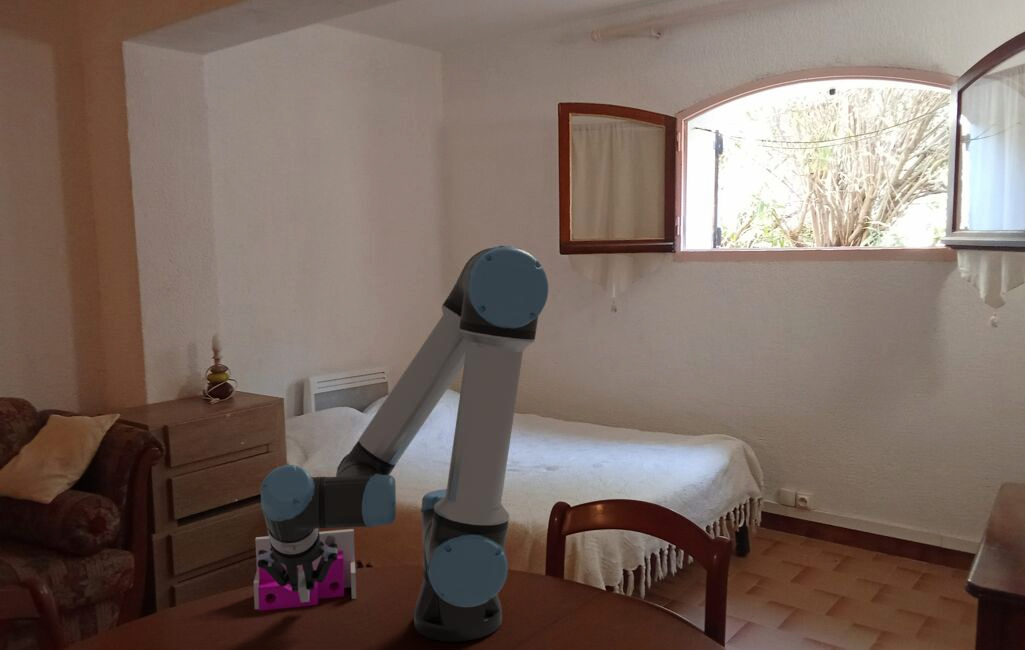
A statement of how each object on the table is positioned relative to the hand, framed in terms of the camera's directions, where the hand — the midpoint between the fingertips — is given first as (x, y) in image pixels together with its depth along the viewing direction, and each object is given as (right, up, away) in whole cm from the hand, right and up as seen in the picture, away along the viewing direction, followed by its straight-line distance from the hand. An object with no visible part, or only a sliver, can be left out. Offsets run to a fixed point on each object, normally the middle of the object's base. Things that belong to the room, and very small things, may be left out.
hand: (305, 594), depth 141 cm
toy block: (-2, -3, +5) cm, 6 cm away
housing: (-1, -2, +6) cm, 7 cm away
